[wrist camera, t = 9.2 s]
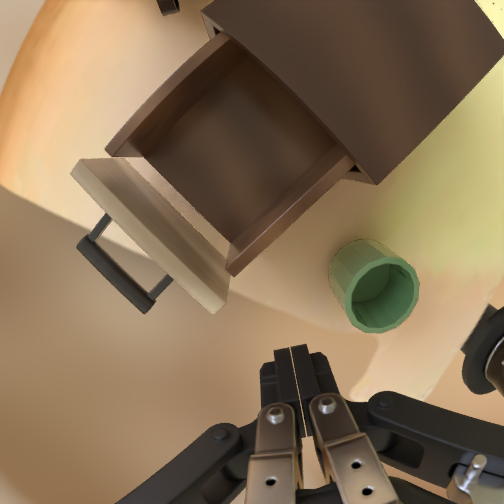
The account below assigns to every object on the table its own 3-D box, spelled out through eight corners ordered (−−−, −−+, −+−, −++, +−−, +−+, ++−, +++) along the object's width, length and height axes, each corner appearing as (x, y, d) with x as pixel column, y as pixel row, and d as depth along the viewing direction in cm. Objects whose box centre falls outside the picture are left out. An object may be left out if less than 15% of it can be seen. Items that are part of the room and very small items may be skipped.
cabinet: (334, 176, 25) (377, 186, 16) (216, 59, 22) (199, 10, 13) (448, 69, 22) (510, 48, 13) (349, -34, 19) (380, -87, 10)
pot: (403, 271, 27) (431, 294, 22) (354, 316, 29) (373, 347, 23) (367, 223, 26) (393, 239, 21) (313, 273, 27) (328, 299, 22)
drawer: (184, 310, 27) (164, 358, 20) (82, 211, 25) (33, 229, 17) (361, 144, 23) (403, 139, 16) (252, 34, 21) (253, -10, 14)
